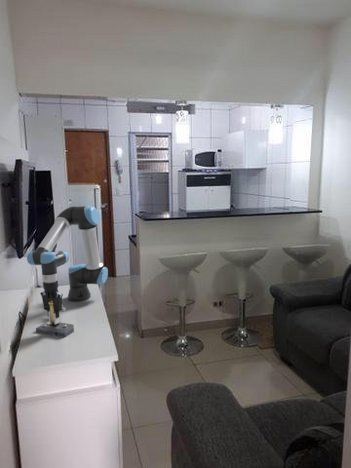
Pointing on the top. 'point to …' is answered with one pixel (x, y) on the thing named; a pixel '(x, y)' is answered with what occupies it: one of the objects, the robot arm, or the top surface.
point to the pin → (52, 313)
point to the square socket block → (56, 329)
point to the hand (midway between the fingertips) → (54, 322)
